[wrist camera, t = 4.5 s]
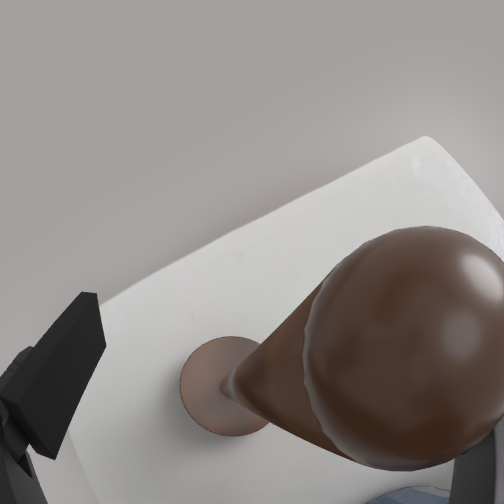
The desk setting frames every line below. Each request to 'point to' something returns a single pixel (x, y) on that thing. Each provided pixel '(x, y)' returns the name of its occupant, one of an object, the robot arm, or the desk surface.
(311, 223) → the desk surface
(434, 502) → the bowl
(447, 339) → the masher
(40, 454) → the robot arm
